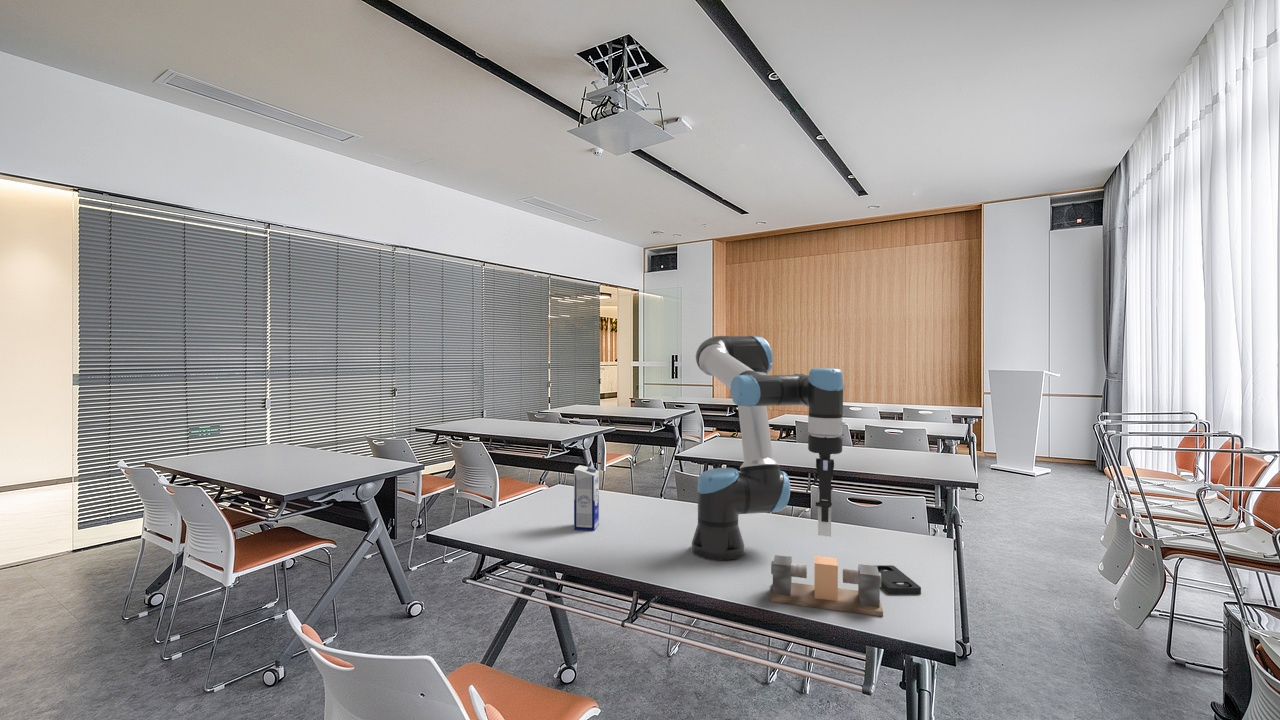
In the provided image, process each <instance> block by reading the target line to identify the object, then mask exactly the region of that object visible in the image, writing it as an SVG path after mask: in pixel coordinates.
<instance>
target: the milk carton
mask: <svg viewBox="0 0 1280 720" xmlns="http://www.w3.org/2000/svg"><path fill="white" fill-rule="evenodd" d="M573 469H574V470H573V531H586V532H587V531H588V532H595V530H596V529H597V527H598V526H599V524H600V523H599V522H600V515H599V514H600V506H599V505H600V503H599V502H600V500H599V499H600V494H599V493H600V491H599V490H600V487H599V486H600V484H599V483H600V478H599V477H600V475H599V474H600V471H599V470H597V468H595V467H593V466H585V465H581V464H580V465H578V466H576V467H575V468H573Z"/></svg>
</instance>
